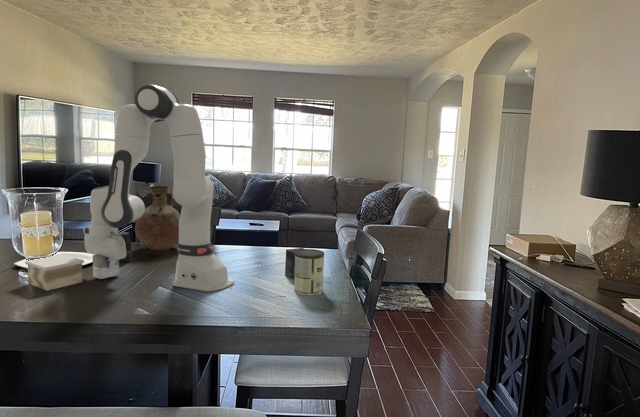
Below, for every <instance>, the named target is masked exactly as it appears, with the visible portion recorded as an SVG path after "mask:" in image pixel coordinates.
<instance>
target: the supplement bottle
mask: <svg viewBox="0 0 640 417" xmlns="http://www.w3.org/2000/svg"><path fill="white" fill-rule="evenodd" d="M119 233H120V234H121V236H122V237H123V239H124V241H125V246H126V257H125V258H123V259H119V264H124V263H125V262H126V263H130V262H131V261H132V260H133V254H132V253H133V244H132V243H133V241H132V240H131V239H130V232H125V231H124V232H122V231H121V232H119ZM126 263H125V264H126Z"/></svg>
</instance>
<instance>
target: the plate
mask: <svg viewBox="0 0 640 417" xmlns="http://www.w3.org/2000/svg"><path fill="white" fill-rule="evenodd" d="M56 252H57V253H56V254H54V255H53V256H57V255H63V254H65V255H68V256H72V257H75V258H78V259H82V260H84V263H82V267H83V266H85V265H89V264H91V263H92V264H93V257H92V255H95V254H93V253H89V252H78V251H77V252H76V251H56ZM26 259H27V258H24V259H22V260H19V261H16V262H14V263H13V265H15V266H17V267H20V268H23V269H27V268H26V266H27V264H25V261H28V260H26Z"/></svg>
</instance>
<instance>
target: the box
mask: <svg viewBox="0 0 640 417" xmlns="http://www.w3.org/2000/svg"><path fill="white" fill-rule="evenodd" d="M301 249H305V248H304V247H299V248H289V249H288V248H287V249H285V262H284V263H285V267H284V269H285V270H284V275H285V276H287V278H290V279H295V251H297V250H301Z"/></svg>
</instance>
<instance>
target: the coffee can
mask: <svg viewBox="0 0 640 417" xmlns="http://www.w3.org/2000/svg"><path fill="white" fill-rule="evenodd" d="M324 260H325V252H324V251H323V250H320V249H312V248H304V249H301V250H297V251H295V278H294V287H293V288H294V289H293V291H294V293H296V294H298V295H302V296H318V295H320V294H322V293H323V291H324V290H323V287H324V263H325V262H324Z"/></svg>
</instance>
